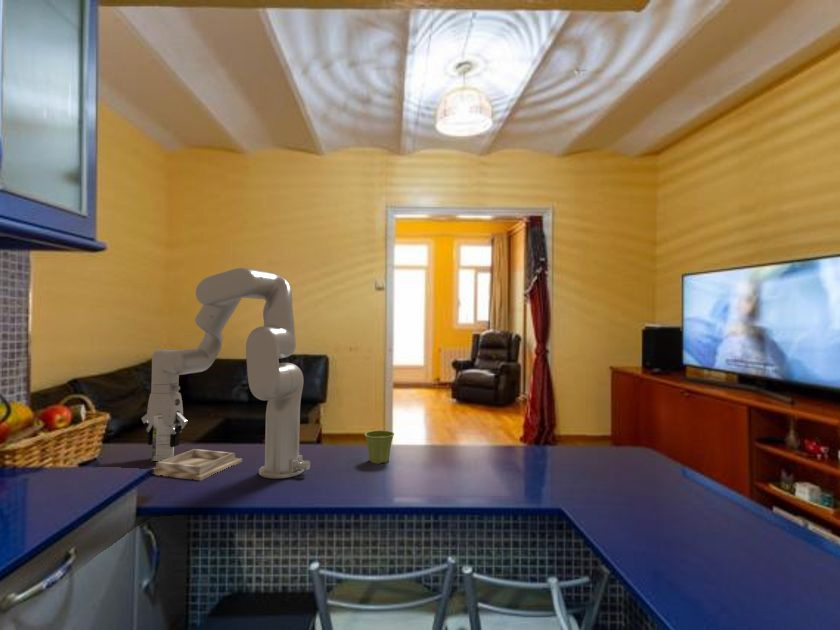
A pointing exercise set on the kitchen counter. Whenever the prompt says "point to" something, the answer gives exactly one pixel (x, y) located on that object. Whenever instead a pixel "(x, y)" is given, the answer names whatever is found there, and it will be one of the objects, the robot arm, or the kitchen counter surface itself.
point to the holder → (196, 464)
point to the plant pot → (379, 445)
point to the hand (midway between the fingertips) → (163, 444)
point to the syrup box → (161, 440)
